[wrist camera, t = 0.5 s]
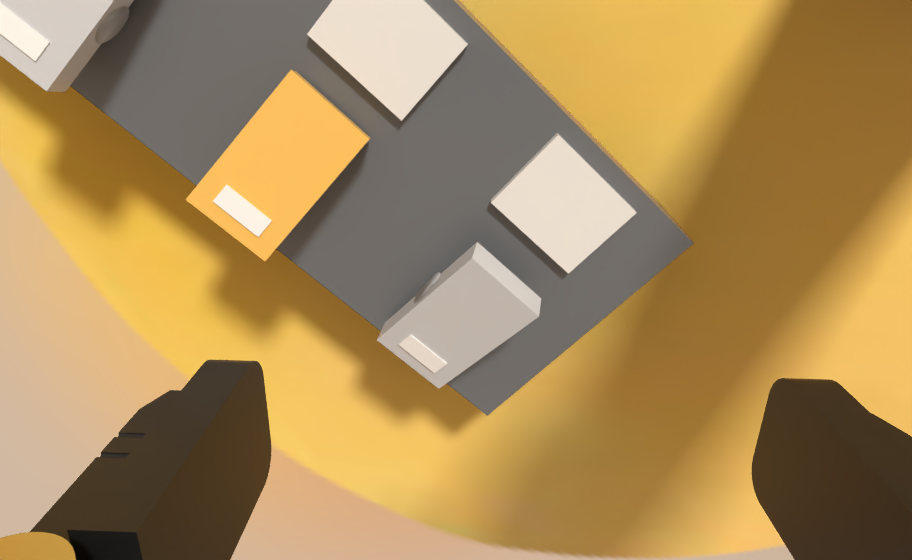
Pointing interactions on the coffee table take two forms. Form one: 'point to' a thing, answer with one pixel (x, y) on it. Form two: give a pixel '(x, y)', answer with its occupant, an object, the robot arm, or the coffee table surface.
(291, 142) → the block
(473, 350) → the grey rocker right
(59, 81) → the grey rocker left
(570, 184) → the rocker switch panel
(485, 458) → the coffee table surface
